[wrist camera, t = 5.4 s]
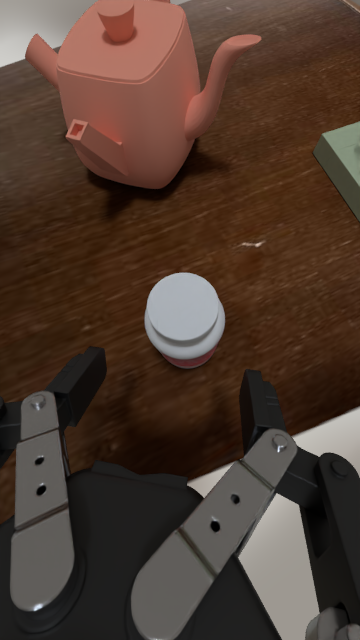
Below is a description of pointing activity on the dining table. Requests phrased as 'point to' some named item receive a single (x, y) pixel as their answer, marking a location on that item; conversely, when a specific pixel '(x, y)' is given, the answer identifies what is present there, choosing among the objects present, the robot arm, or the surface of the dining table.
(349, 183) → the socket pad
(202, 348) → the pill bottle
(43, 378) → the dining table surface
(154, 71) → the teapot
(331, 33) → the dining table surface
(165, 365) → the dining table surface
